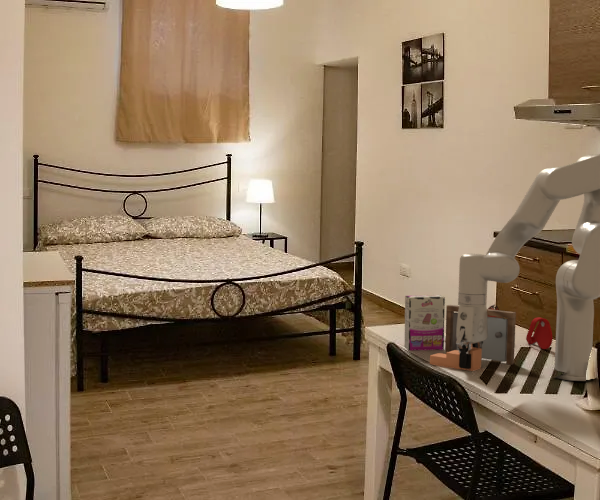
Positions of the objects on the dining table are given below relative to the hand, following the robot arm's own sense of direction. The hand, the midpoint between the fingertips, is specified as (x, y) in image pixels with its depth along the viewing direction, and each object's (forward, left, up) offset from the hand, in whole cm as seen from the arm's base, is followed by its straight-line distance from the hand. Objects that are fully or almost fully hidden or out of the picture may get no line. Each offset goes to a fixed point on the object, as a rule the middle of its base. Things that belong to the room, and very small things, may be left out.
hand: (469, 365), depth 227 cm
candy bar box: (+22, -14, -1) cm, 26 cm away
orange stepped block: (+4, 0, -1) cm, 4 cm away
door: (+11, -13, -1) cm, 17 cm away
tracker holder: (-3, -40, -1) cm, 40 cm away
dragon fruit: (+14, -41, -1) cm, 43 cm away
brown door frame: (+4, -13, -1) cm, 14 cm away
